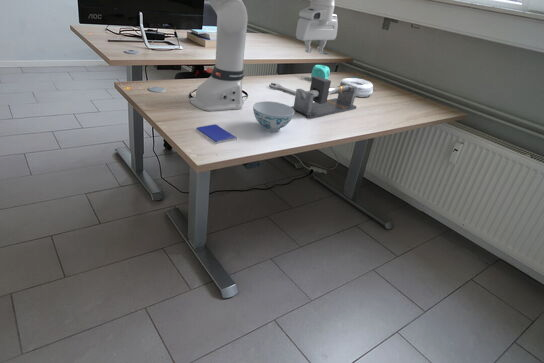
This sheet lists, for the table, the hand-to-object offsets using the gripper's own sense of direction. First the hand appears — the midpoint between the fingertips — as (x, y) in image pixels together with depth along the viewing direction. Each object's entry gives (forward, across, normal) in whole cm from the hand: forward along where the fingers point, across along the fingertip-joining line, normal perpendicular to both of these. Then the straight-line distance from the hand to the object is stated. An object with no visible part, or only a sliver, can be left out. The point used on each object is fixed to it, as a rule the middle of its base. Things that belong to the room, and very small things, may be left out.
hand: (313, 51), depth 147 cm
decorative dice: (+26, -49, -33) cm, 64 cm away
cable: (+26, -52, -11) cm, 59 cm away
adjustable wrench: (+26, -15, -24) cm, 38 cm away
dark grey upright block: (+21, -8, 0) cm, 22 cm away
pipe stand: (+25, -14, 0) cm, 29 cm away
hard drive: (+26, +46, +2) cm, 53 cm away
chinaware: (+25, +24, +6) cm, 36 cm away
